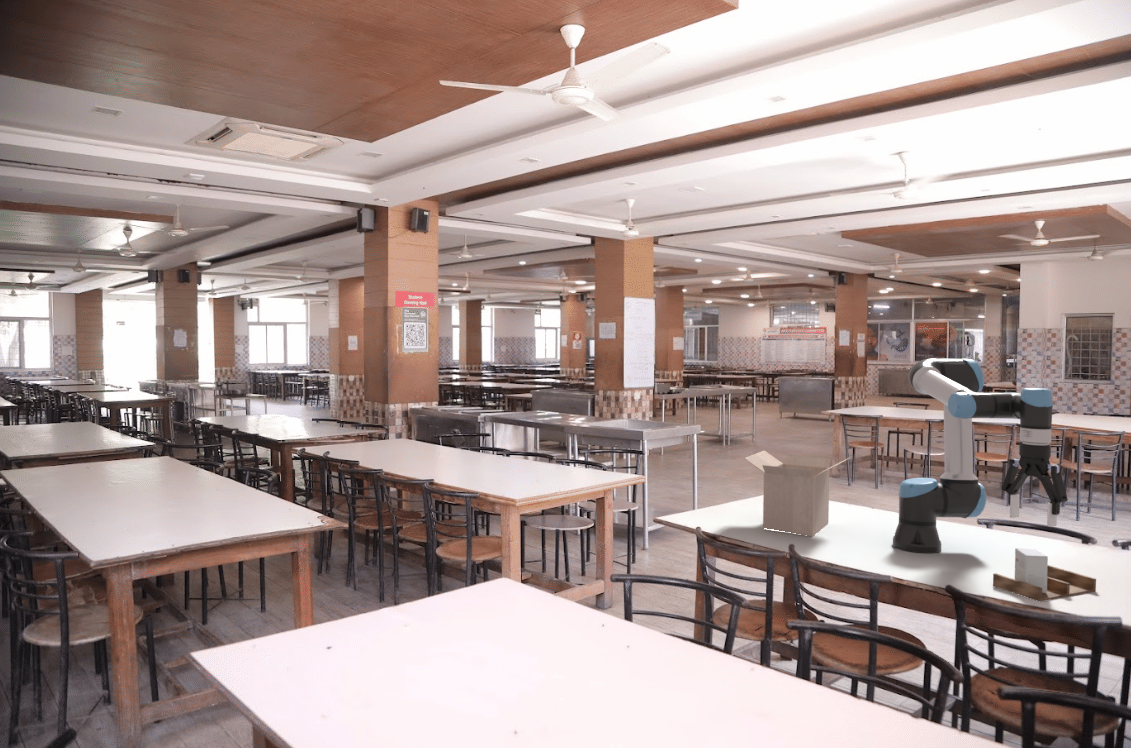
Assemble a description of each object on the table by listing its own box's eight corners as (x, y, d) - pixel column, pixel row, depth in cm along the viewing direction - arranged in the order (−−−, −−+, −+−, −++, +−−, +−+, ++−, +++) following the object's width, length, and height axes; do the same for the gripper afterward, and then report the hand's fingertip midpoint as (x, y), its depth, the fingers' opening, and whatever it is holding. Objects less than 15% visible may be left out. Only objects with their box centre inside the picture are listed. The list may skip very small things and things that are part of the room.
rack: (992, 585, 218) (993, 573, 218) (1047, 576, 226) (1048, 565, 226) (1039, 601, 205) (1039, 588, 205) (1095, 591, 213) (1096, 578, 213)
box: (850, 524, 290) (852, 456, 289) (831, 542, 265) (833, 467, 263) (765, 513, 308) (766, 449, 307) (740, 529, 282) (741, 458, 281)
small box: (1047, 594, 209) (1048, 556, 209) (1025, 592, 210) (1026, 555, 210) (1035, 584, 217) (1036, 548, 217) (1013, 583, 218) (1015, 547, 218)
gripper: (988, 438, 221) (986, 513, 222) (1066, 449, 200) (1063, 532, 201) (1007, 437, 224) (1004, 511, 225) (1085, 448, 202) (1082, 529, 203)
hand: (1032, 521), depth 213 cm, fingers open, 10 cm apart
